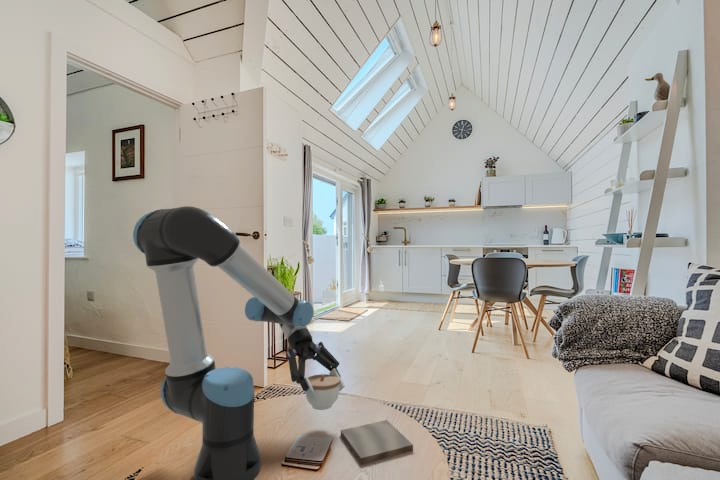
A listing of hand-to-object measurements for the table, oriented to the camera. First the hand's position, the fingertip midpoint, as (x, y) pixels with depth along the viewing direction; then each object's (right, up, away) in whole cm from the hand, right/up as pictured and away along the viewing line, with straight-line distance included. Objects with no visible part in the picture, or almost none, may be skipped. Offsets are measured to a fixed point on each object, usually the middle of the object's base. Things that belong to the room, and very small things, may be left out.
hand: (328, 394), depth 105 cm
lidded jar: (-2, -5, +2) cm, 5 cm away
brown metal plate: (+14, -10, -8) cm, 19 cm away
